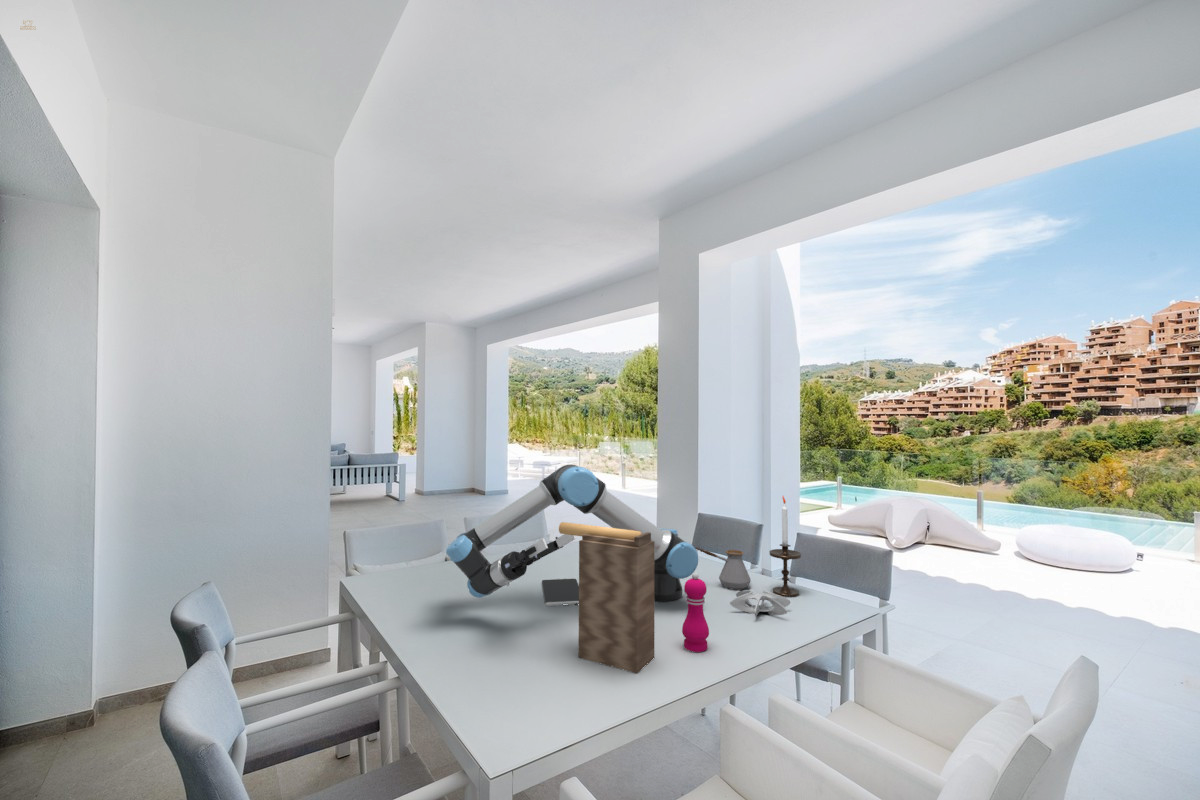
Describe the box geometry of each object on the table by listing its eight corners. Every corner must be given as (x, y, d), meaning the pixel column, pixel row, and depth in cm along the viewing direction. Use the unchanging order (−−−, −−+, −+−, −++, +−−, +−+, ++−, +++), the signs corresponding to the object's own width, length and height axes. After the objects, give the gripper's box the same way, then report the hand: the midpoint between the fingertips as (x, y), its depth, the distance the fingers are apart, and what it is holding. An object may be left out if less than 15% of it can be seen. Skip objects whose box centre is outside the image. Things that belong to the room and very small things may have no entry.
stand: (578, 657, 137) (579, 531, 139) (598, 643, 146) (598, 525, 147) (636, 673, 128) (637, 538, 130) (654, 658, 137) (654, 531, 138)
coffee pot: (743, 581, 205) (742, 542, 205) (756, 590, 193) (755, 549, 194) (689, 583, 201) (689, 543, 202) (699, 593, 190) (699, 551, 191)
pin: (558, 534, 146) (558, 522, 146) (565, 532, 149) (565, 521, 149) (636, 545, 134) (636, 532, 134) (641, 542, 136) (641, 530, 137)
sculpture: (726, 618, 166) (726, 597, 166) (738, 599, 184) (738, 581, 184) (785, 627, 158) (785, 606, 159) (792, 607, 176) (792, 588, 177)
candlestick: (763, 590, 193) (762, 494, 195) (786, 587, 198) (785, 492, 199) (784, 599, 184) (783, 498, 185) (808, 595, 188) (807, 496, 189)
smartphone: (545, 608, 176) (545, 603, 176) (541, 583, 202) (541, 579, 202) (584, 606, 178) (585, 601, 178) (576, 582, 204) (576, 577, 204)
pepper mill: (703, 655, 139) (703, 578, 140) (677, 649, 142) (677, 574, 143) (713, 645, 145) (712, 571, 146) (688, 640, 149) (688, 568, 149)
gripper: (540, 570, 166) (589, 542, 157) (484, 591, 144) (537, 561, 135) (530, 547, 168) (579, 519, 159) (474, 565, 147) (526, 534, 138)
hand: (560, 538), depth 147 cm, fingers open, 13 cm apart
